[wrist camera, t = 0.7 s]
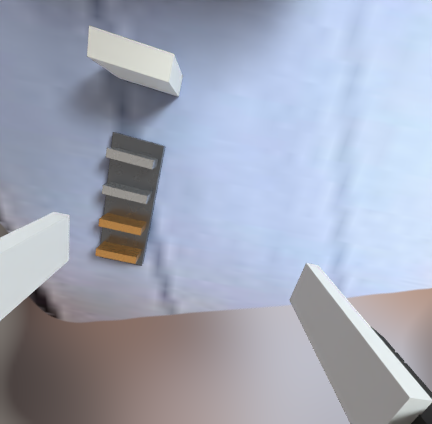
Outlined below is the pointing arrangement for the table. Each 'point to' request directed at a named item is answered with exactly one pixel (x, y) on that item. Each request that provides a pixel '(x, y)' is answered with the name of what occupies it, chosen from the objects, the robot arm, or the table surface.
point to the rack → (129, 198)
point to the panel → (135, 61)
